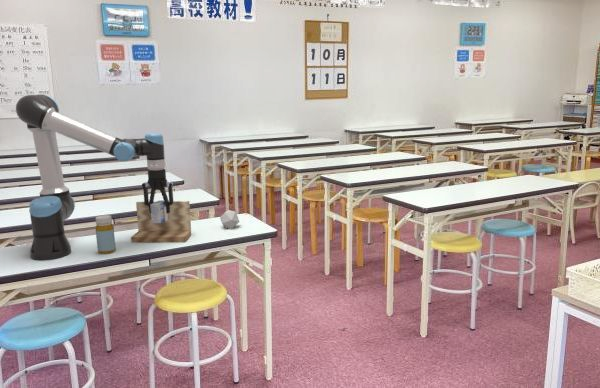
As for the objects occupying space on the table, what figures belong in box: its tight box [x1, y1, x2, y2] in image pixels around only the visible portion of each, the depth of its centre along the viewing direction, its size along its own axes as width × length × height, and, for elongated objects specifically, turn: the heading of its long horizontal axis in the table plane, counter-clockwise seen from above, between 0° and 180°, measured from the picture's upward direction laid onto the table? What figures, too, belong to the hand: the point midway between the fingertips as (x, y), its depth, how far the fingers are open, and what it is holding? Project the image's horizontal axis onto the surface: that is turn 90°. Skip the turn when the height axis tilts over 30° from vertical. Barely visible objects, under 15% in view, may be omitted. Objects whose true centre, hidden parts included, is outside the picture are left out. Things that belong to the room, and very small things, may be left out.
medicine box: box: [150, 199, 166, 223], centre depth 227 cm, size 8×4×9 cm, turn 169°
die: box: [219, 209, 240, 230], centre depth 246 cm, size 8×9×10 cm
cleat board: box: [130, 200, 192, 244], centre depth 228 cm, size 24×12×16 cm, turn 89°
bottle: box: [95, 214, 117, 255], centre depth 211 cm, size 7×7×15 cm
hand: (160, 220), depth 228 cm, fingers closed on medicine box, 5 cm apart
